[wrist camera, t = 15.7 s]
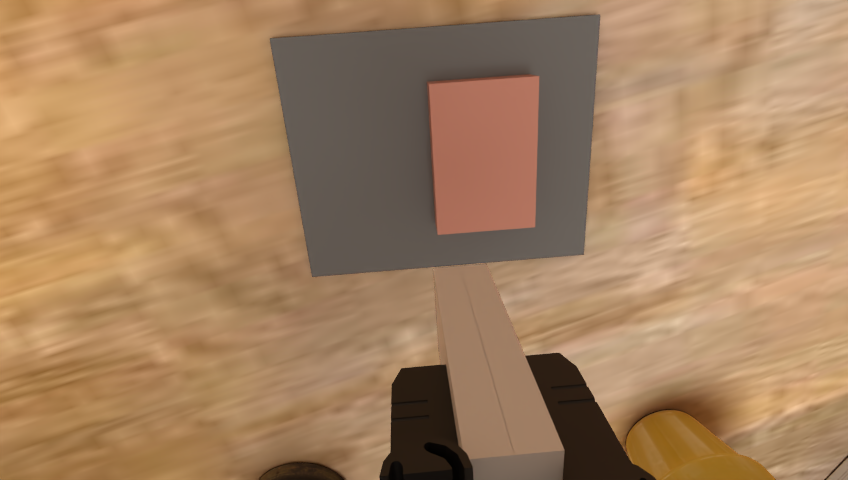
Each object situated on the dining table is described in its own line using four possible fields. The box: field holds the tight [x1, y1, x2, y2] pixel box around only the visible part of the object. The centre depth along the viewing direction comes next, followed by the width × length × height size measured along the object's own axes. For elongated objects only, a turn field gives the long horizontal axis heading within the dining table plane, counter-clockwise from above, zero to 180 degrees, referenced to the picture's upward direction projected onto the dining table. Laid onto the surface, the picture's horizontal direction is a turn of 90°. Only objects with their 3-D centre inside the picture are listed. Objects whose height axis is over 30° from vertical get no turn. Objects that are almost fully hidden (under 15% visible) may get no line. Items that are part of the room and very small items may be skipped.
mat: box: [270, 15, 600, 277], centre depth 31 cm, size 20×16×1 cm
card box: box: [427, 74, 539, 235], centre depth 30 cm, size 2×10×6 cm
